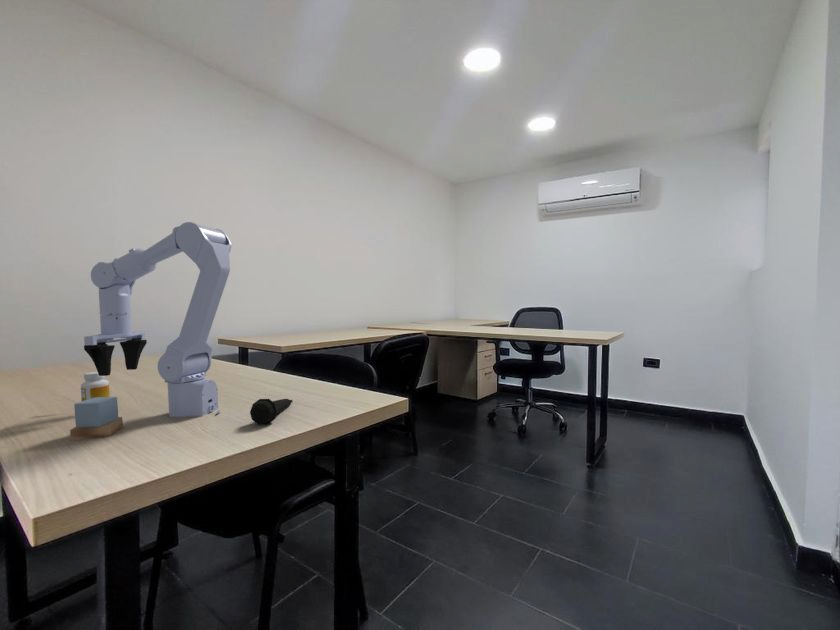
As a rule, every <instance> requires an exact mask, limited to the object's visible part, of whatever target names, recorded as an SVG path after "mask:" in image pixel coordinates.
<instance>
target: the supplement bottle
mask: <svg viewBox="0 0 840 630" xmlns="http://www.w3.org/2000/svg"><path fill="white" fill-rule="evenodd" d="M105 377H106V376H99V374H98V371H90V372H86V373H83V379H84V382H82V383H81V384H80V399H81V401H80V402H82V401H85V400H88V399H91V398H97V397H111V395H110V382H109V380H107V379H105Z"/></svg>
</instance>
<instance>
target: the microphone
mask: <svg viewBox="0 0 840 630" xmlns="http://www.w3.org/2000/svg"><path fill="white" fill-rule="evenodd" d="M293 401H294V400H293V399H289V398H281V399H277V400H271V399H270V398H259V399H258V400H256V401H255V402H254V403H252V406H251V408H250V411H249V414H250V418H251V420H252V421H253V422H254V423H256V424H257V425H269V424H271V423H272V422H273V421H275V420H276V418H277V416H278V415H279V414H280V413H281V412H283V411H284V410H286V409H287V408H289V407H290V406H291V404H292V403H293ZM291 402H292V403H291ZM290 403H291V404H290ZM285 408H286V409H285Z"/></svg>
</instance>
